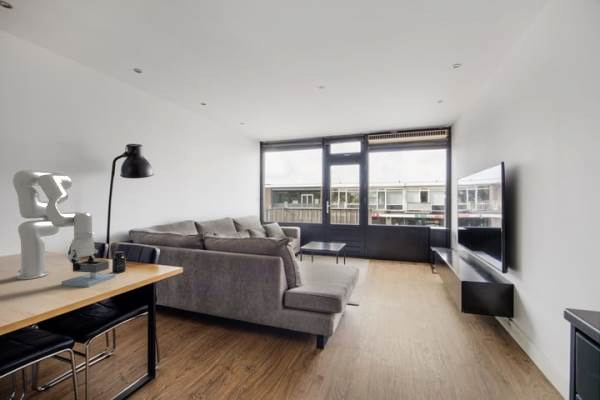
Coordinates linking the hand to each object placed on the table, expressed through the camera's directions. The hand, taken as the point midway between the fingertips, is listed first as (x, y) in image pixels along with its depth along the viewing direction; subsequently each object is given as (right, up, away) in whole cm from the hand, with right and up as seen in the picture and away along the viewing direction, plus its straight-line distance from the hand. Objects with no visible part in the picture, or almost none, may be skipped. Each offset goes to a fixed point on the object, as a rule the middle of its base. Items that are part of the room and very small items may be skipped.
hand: (83, 268), depth 142 cm
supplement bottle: (+7, -7, +17) cm, 20 cm away
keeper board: (+4, -7, 0) cm, 8 cm away
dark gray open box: (+4, -1, -1) cm, 5 cm away
